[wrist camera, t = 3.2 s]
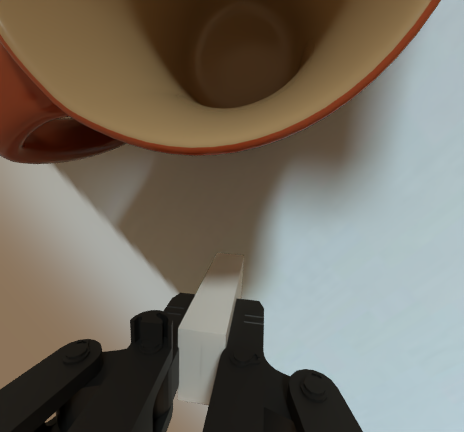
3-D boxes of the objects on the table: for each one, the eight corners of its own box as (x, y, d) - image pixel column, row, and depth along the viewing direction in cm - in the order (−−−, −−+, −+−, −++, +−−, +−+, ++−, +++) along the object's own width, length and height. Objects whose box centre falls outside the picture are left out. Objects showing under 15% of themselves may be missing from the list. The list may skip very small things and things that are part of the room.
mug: (274, -68, 12) (309, -1037, 2) (360, 97, 13) (639, -82, 3) (93, 86, 15) (-250, -56, 5) (176, 213, 16) (30, 304, 6)
